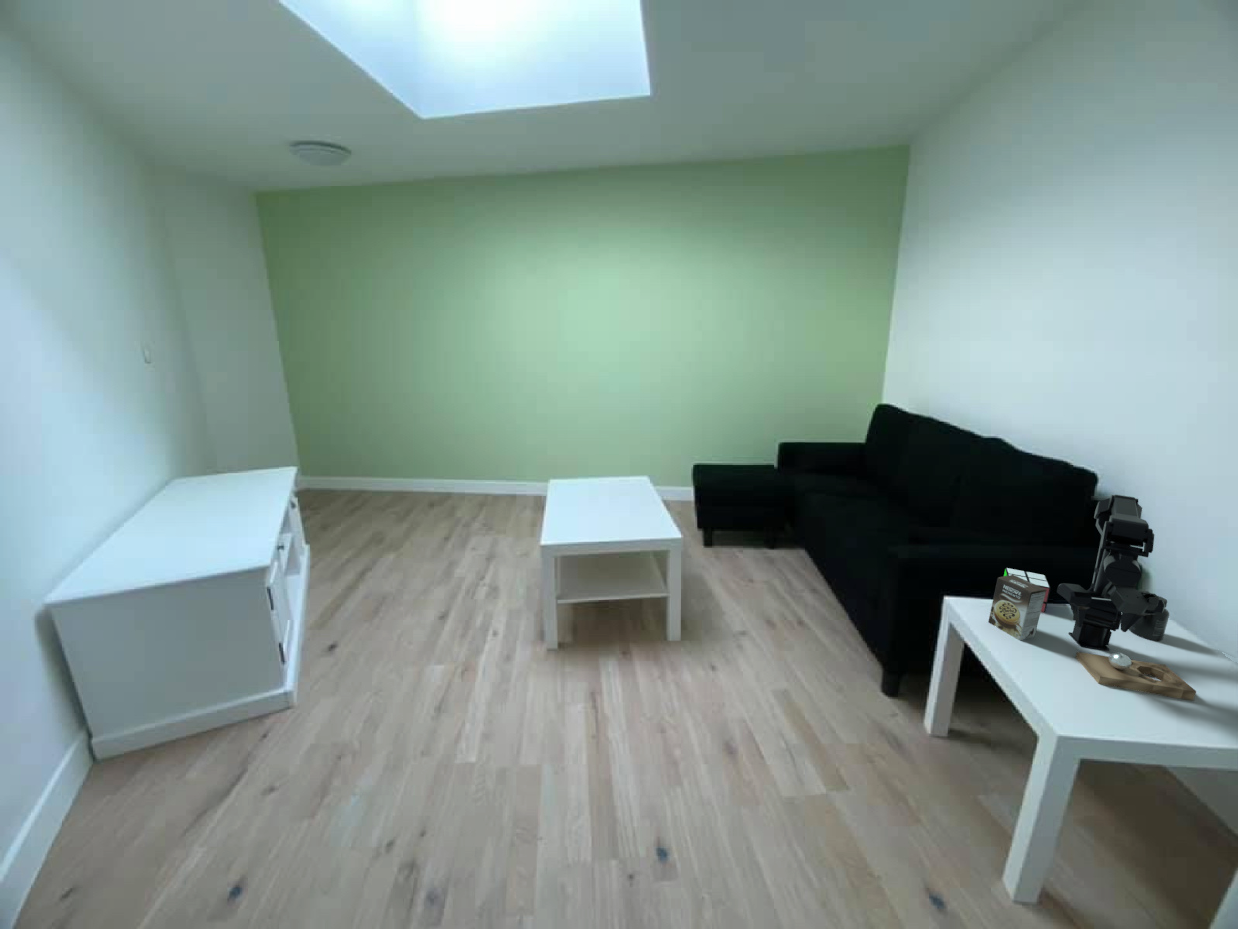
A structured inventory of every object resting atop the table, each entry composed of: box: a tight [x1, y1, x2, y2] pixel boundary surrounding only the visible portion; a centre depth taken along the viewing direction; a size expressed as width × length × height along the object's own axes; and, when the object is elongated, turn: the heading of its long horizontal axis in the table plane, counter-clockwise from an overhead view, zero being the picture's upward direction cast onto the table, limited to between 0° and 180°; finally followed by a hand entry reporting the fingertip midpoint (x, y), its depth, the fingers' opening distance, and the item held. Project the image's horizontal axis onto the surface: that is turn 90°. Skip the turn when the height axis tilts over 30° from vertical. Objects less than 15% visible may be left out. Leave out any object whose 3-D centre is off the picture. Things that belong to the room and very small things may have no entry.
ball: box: [1108, 652, 1132, 670], centre depth 122 cm, size 4×4×4 cm
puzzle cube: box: [1003, 567, 1052, 614], centre depth 154 cm, size 10×10×10 cm
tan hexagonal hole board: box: [1075, 651, 1197, 701], centre depth 122 cm, size 18×10×2 cm, turn 73°
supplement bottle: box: [1128, 595, 1170, 642], centre depth 139 cm, size 7×7×12 cm
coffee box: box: [988, 575, 1046, 641], centre depth 139 cm, size 9×6×16 cm
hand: (1100, 628), depth 122 cm, fingers open, 9 cm apart
